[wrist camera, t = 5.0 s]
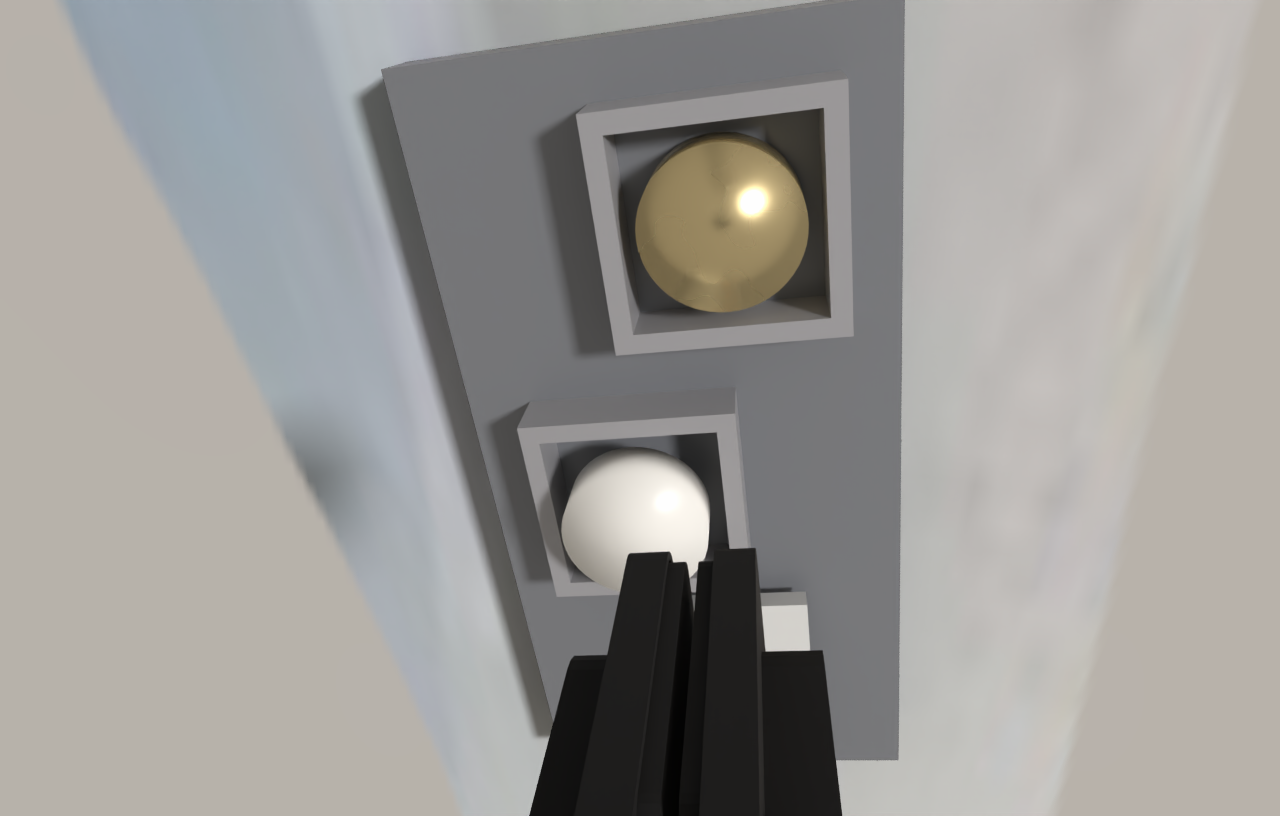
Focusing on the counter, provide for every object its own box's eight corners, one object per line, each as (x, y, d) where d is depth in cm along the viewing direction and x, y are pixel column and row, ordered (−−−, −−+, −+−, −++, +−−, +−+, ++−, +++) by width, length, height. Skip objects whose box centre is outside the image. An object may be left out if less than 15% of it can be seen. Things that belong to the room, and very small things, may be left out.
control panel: (406, 61, 25) (354, 77, 21) (891, -10, 22) (917, -5, 19) (571, 722, 37) (554, 797, 34) (890, 720, 35) (906, 799, 32)
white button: (559, 451, 26) (548, 479, 25) (702, 442, 26) (700, 470, 24) (583, 565, 28) (575, 596, 27) (716, 559, 28) (715, 591, 26)
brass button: (630, 142, 23) (623, 154, 21) (800, 121, 22) (804, 132, 21) (652, 299, 25) (647, 319, 23) (808, 284, 24) (812, 305, 23)
